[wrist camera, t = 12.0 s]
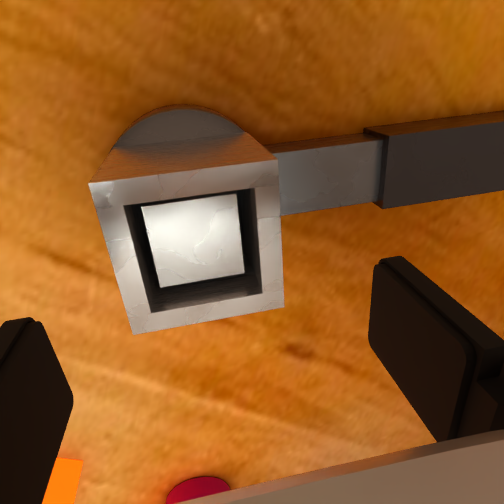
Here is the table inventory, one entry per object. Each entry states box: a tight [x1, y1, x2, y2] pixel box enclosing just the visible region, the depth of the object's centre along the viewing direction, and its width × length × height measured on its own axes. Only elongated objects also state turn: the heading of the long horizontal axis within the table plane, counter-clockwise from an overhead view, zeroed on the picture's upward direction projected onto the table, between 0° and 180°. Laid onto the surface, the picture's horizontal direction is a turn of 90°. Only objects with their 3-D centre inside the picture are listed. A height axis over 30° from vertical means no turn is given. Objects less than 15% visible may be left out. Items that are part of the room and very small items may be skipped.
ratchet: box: [110, 104, 504, 287], centre depth 19 cm, size 26×9×8 cm, turn 95°
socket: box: [88, 132, 284, 335], centre depth 16 cm, size 6×6×6 cm
